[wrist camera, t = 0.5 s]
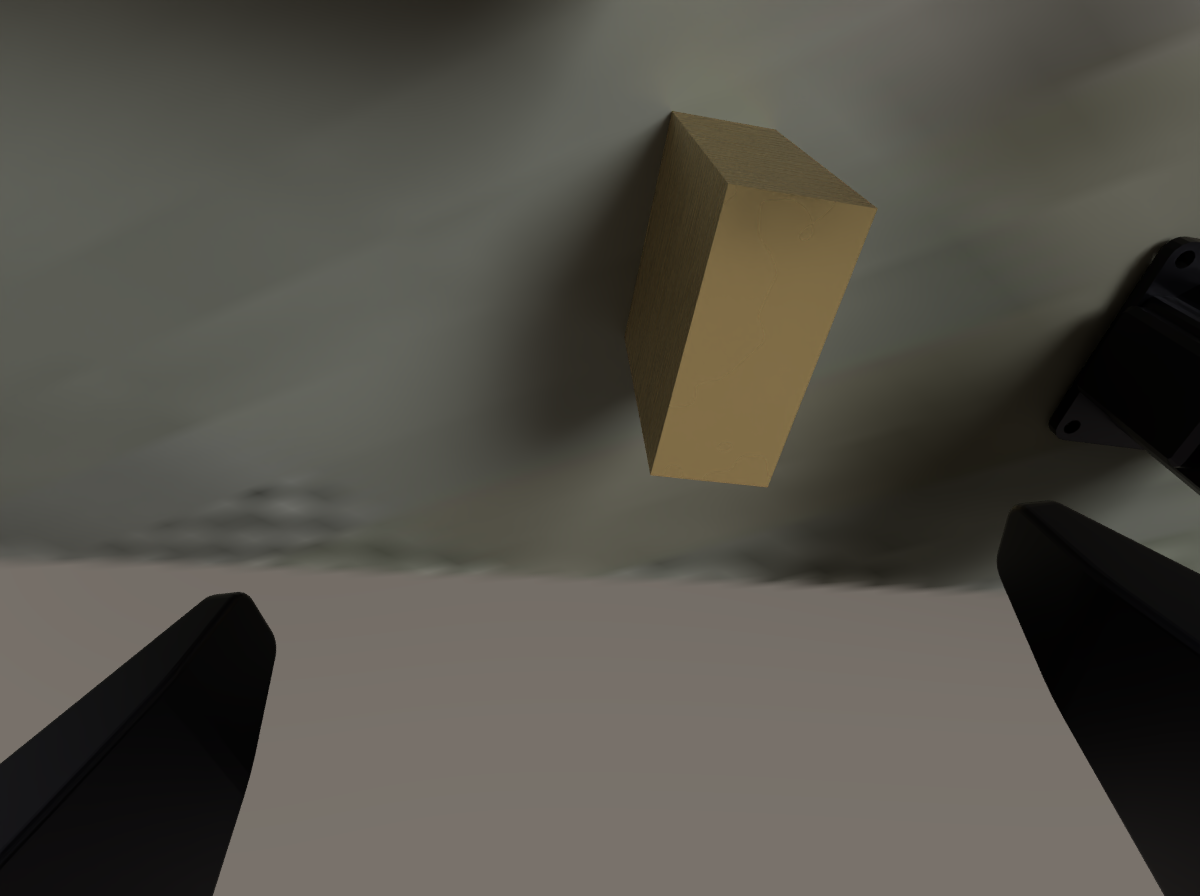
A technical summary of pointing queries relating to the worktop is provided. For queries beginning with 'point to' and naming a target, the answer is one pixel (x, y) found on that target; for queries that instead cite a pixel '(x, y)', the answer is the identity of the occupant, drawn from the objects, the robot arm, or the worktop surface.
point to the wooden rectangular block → (735, 296)
